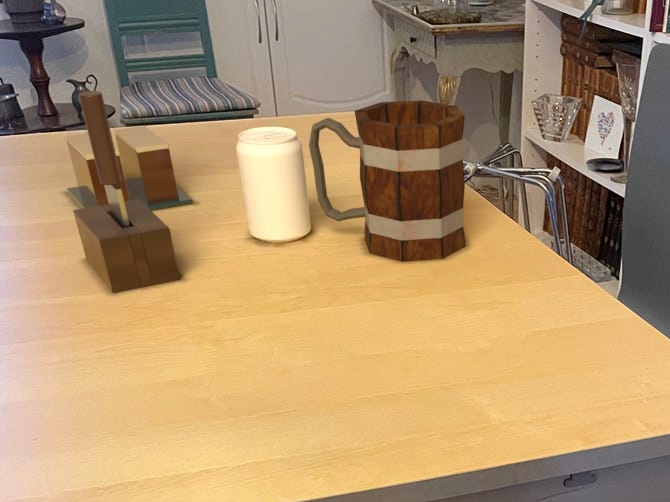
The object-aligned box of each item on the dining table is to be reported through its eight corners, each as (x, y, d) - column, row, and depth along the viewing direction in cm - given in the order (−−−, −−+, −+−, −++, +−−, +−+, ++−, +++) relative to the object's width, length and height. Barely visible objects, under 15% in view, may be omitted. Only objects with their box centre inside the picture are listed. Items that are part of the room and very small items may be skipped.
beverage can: (237, 233, 124) (221, 133, 116) (289, 219, 128) (276, 122, 120) (271, 250, 119) (257, 147, 111) (323, 235, 124) (313, 135, 115)
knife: (115, 263, 116) (71, 89, 103) (135, 260, 116) (94, 86, 104) (129, 280, 112) (85, 100, 99) (149, 276, 113) (108, 97, 100)
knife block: (86, 260, 116) (72, 209, 112) (150, 248, 119) (139, 199, 115) (113, 293, 109) (99, 240, 105) (180, 279, 112) (169, 227, 108)
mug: (475, 228, 126) (475, 102, 116) (455, 265, 116) (453, 131, 106) (334, 219, 128) (322, 95, 118) (303, 254, 118) (287, 122, 108)
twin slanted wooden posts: (67, 192, 136) (52, 134, 131) (162, 178, 142) (151, 122, 137) (92, 220, 127) (77, 159, 122) (192, 203, 133) (181, 144, 128)
